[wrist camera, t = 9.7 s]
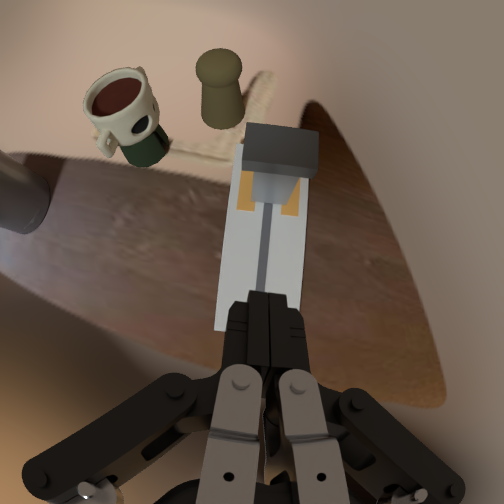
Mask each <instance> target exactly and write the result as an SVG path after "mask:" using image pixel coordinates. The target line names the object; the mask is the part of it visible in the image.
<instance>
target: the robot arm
mask: <svg viewBox="0 0 504 504" xmlns="http://www.w3.org/2000/svg"><path fill="white" fill-rule="evenodd" d="M49 200H50V191H49V186H48V184H47V182H46V180H45V179H43V178H42V177H41V176H39V175H38V174H36V173H34V172H33V171H31V170H30V169H29V168H27V167H25V166H24V165H22V164H21V163H19V162H18V161H16V160H15V159H13V158H12V157H10V156H9V155H7V154H6V153H4V152H3V151H1V150H0V227H2V228H5V229H8V230H11V231H14V232H17V233H20V234H28V233H30V232H32V231H33V230H35V229H36V228H37V227H38V226H39V225H40V223H41V222H42V220H43V218H44V216H45V214H46V212H47V209H48V205H49ZM304 329H305V328H304V321H303V317H302V316H301V314H300V312H299V311H298V309H297V308H289V307H288V304H287V296H286V294H279V293H271V292H268V293H267V292H263V291H256V290H249V293H248V297H247V302H241V301H235V302H234V303H233V304H232V306H231V307H230V308H229V311H228V318H227V324H226V330H225V338H224V347H223V356H222V365H221V369H220V370H219V371H218V372H217V373H216V374H215V375H213V376H211V377H208V378H203V379H197V380H191V379H190V378H189V377H187V376H186V375H183V374H180V373H168V374H165V375H163V376H161V377H160V378H158V379H157V380H156V381H154V382H152V383H151V384H149V385H148V386H147V387H145V388H144V389H142V390H141V391H139V392H138V393H136V394H135V395H133V396H132V397H130V398H129V399H127V400H126V401H124V402H123V403H121V404H120V405H118V406H117V407H115V408H113V409H112V410H110V411H109V412H108V413H106V414H104V415H103V416H101V417H100V418H98V419H97V420H95V421H93V422H92V423H90V424H89V425H87V426H85V427H84V428H82V429H81V430H79V431H77V432H76V433H74V434H72V435H71V436H69V437H68V438H66V439H64V440H62V441H61V442H59V443H58V444H56V445H54V446H52V447H51V448H49V449H47V450H46V451H44V452H42V453H40V454H39V455H37V456H35V457H33V458H32V459H30V460H29V461H27V462H26V463H25V464H24V467H23V469H22V479H23V483H24V485H25V487H26V488H27V490H28V491H29V492H30V493H31V494H32V495H33V496H35V497H37V498H39V499H41V500H44V501H47V502H48V503H50V504H124V496H123V493H122V491H121V490H120V489H119V486H121V485H123V484H124V483H126V482H127V481H128V480H130V479H131V478H133V477H134V476H136V475H137V474H138V473H140V472H141V471H143V470H144V469H145V468H147V467H148V466H150V465H151V464H152V463H154V462H155V461H156V460H158V459H159V458H160V457H162V456H163V455H164V454H166V453H167V452H168V451H169V450H171V449H172V448H173V447H175V446H176V445H177V444H178V443H180V442H181V441H182V440H184V439H185V438H186V437H187V436H188V435H190V434H191V433H192V432H197V431H203V430H209V429H210V432H209V436H208V442H207V446H206V452H205V457H204V462H203V467H202V473H201V478H200V479H195V480H190V481H187V482H184V483H182V484H180V485H177V486H176V487H174V488H173V489H171V490H170V491H168V492H167V493H166V494H165V495H163V496H162V497H161V498H160V499H159V500H158V501H156V502H155V503H154V504H364V502H362V501H361V500H360V499H359V498H358V497H357V496H356V495H355V494H354V493H353V492H352V491H351V490H349V489H348V488H347V484H346V479H345V474H344V469H345V470H346V471H347V472H348V473H349V474H350V475H351V476H352V477H353V478H354V479H355V480H356V481H357V482H358V483H359V484H360V485H362V486H363V487H364V488H365V489H366V490H367V491H368V492H369V493H370V494H372V495H373V496H374V497H375V498H376V499H377V500H378V501H377V504H459V503H460V502H461V501H462V499H463V497H464V494H465V484H464V481H463V479H462V478H461V477H460V476H459V475H458V474H456V473H455V472H454V471H453V470H452V469H451V468H450V467H448V466H447V465H446V464H445V463H444V462H443V461H441V459H439V458H438V457H437V456H436V455H435V454H434V453H433V452H432V451H430V450H429V449H428V448H427V447H426V446H425V445H424V444H423V443H422V442H420V441H419V440H418V439H417V438H416V437H415V436H414V435H413V434H412V433H410V432H409V431H408V430H407V429H406V428H405V427H404V426H403V425H402V424H401V423H400V422H398V421H397V420H396V419H395V418H394V417H393V416H392V415H391V414H390V413H389V412H388V411H387V410H385V409H384V408H383V407H382V406H381V405H380V404H379V403H378V402H377V401H376V400H375V399H374V398H373V397H371V396H370V395H369V394H368V393H367V392H366V391H364V390H362V389H359V388H350V389H347V390H345V391H344V392H343V393H341V392H338V391H335V390H331V389H328V388H326V387H323V386H322V385H320V384H319V383H318V382H317V381H316V379H315V378H314V377H313V376H312V374H311V372H310V366H309V358H308V350H307V343H306V339H305V338H306V335H305V331H304ZM261 398H266V408H265V410H264V412H263V425H264V436H265V437H264V438H265V450H266V463H265V468H264V478H265V484H262V483H257V482H256V476H257V466H258V457H259V439H258V424H259V413H260V404H261Z"/></svg>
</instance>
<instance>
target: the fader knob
mask: <svg viewBox="0 0 504 504" xmlns="http://www.w3.org/2000/svg"><path fill="white" fill-rule="evenodd" d="M318 163H319V132H318V131H312V130H306V129H299V128H292V127H285V126H277V125H269V124H260V123H250V122H247V123H246V131H245V138H244V146H243V153H242V171H252V172H254V173H253V184H252V194H251V201H254V202H263V203H272V204H281V205H286V204H287V202H288V200H289V198H290V196H291V194H292V192H293V190H294V188H295V186H296V184H297V182H298V180H299V178H300V177H301V178H309V179H313V178H314V176H315V174H316V173H317V171H318Z"/></svg>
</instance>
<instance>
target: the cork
mask: <svg viewBox="0 0 504 504" xmlns="http://www.w3.org/2000/svg"><path fill="white" fill-rule="evenodd" d="M241 72H242V62H241V59H240V58H239V57H238V55H236V53H234V52H233V51H231V50H228V49H222V48H219V49H212V50H209V51H207V52H205V53H204V54H203V55H202V56H201V57H200V58H199V59H198V61H197V63H196V75H197V77H198V78H199V80H200V81H201V82H202V106H201V116H202V119H203V121H204V122H205V123H206V124H207V125H208V126H210V127H212V128H214V129H220V130H222V129H229V128H232V127H234V126H236V125H237V124H239V123H240V122H241V120H242V119H243V118H244V114H245V109H244V104H243V99H242V95H241V90H240V86H239V82H238V79H239V77H240V74H241Z"/></svg>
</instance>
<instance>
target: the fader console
mask: <svg viewBox="0 0 504 504" xmlns="http://www.w3.org/2000/svg"><path fill="white" fill-rule="evenodd" d="M243 146H244V144H236V151H235V158H234V165H233V172H232V180H231V187H230V195H229V202H228V210H227V218H226V226H225V234H224V243H223V251H222V260H221V269H220V278H219V287H218V296H217V306H216V316H215V326H214V330H217V331H225V330H226V324H227V318H228V311H229V308H230V307H231V306H232V304H233V303H234V302H235V301H241V302H247V297H248V293H249V290H256V291H263V292H267V293H268V292H271V293H279V294H286V296H287V304H288V307H289V308H297V309H298V311H299V307H300V297H301V286H302V274H303V262H304V249H305V235H306V219H307V202H308V181H309V178H301V177H300V178H299V180H298V182H297V184H296V186H295V188H294V190H293V192H292V194H291V196H290V198H289V200H288V202H287V204H286V205H281V204H272V203H263V202H254V201H251V194H252V184H253V173H254V172H252V171H242V153H243Z"/></svg>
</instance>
